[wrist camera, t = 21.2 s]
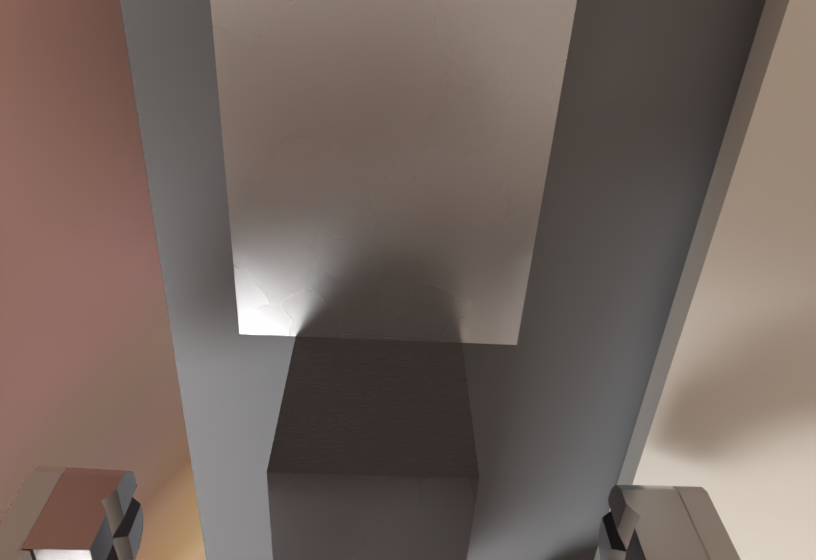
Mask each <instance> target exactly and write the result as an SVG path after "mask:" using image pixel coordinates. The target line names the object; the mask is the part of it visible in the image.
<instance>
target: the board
mask: <svg viewBox="0 0 816 560" xmlns="http://www.w3.org/2000/svg"><path fill="white" fill-rule="evenodd" d="M765 2H766V0H577V3H576V9H575V14H574V20H573V26H572V32H571V37H570V43H569V49H568V54H567V60H566V66H565V72H564V77H563V83H562V89H561V94H560V100H559V106H558V112H557V117H556V123H555V129H554V134H553V140H552V146H551V152H550V157H549V163H548V169H547V175H546V180H545V186H544V192H543V197H542V203H541V209H540V215H539V220H538V226H537V232H536V237H535V243H534V249H533V255H532V260H531V266H530V272H529V277H528V283H527V289H526V295H525V300H524V306H523V312H522V317H521V323H520V329H519V335H518V340H517V345H506V344H480V343H462V347H463V355H464V362H465V370H466V378H467V386H468V393H469V401H470V409H471V416H472V424H473V432H474V440H475V447H476V455H477V463H478V471H479V478H480V480H479V486H478V492H477V498H476V505H475V511H474V517H473V523H472V530H471V536H470V542H469V548H468V555H467V560H594V558H595V554H596V551H597V548H598V543H599V528H600V524H601V520H602V517H603V516H605V515H606V514H607V513H608V512H609V509H610V506H609V503H608V497H609V494H610V490H611V489H612V488H613V486H614V485H617V483H618V480H619V476H620V473H621V470H622V467H623V463H624V460H625V457H626V454H627V450H628V447H629V444H630V441H631V437H632V434H633V431H634V428H635V424H636V421H637V418H638V415H639V411H640V408H641V405H642V402H643V398H644V395H645V392H646V389H647V385H648V382H649V379H650V376H651V372H652V369H653V366H654V363H655V359H656V356H657V353H658V350H659V346H660V343H661V340H662V337H663V333H664V330H665V327H666V324H667V320H668V317H669V314H670V311H671V307H672V304H673V301H674V298H675V294H676V291H677V288H678V284H679V281H680V278H681V275H682V271H683V268H684V265H685V262H686V258H687V255H688V252H689V249H690V245H691V242H692V239H693V236H694V232H695V229H696V226H697V223H698V219H699V216H700V213H701V210H702V206H703V203H704V200H705V197H706V193H707V190H708V187H709V184H710V180H711V177H712V174H713V171H714V167H715V164H716V161H717V158H718V154H719V151H720V148H721V145H722V141H723V138H724V135H725V132H726V128H727V125H728V122H729V119H730V115H731V112H732V109H733V106H734V102H735V99H736V96H737V93H738V89H739V86H740V83H741V80H742V76H743V73H744V70H745V67H746V63H747V60H748V57H749V54H750V50H751V47H752V44H753V41H754V37H755V34H756V31H757V28H758V24H759V21H760V18H761V15H762V11H763V8H764V5H765ZM120 5H121V12H122V18H123V25H124V31H125V37H126V44H127V50H128V57H129V63H130V70H131V76H132V83H133V89H134V96H135V102H136V108H137V115H138V121H139V128H140V134H141V141H142V147H143V154H144V160H145V167H146V173H147V179H148V186H149V192H150V199H151V205H152V212H153V218H154V225H155V231H156V238H157V244H158V250H159V257H160V263H161V270H162V276H163V283H164V289H165V296H166V302H167V309H168V315H169V321H170V328H171V334H172V341H173V347H174V354H175V360H176V367H177V373H178V380H179V386H180V392H181V399H182V405H183V412H184V418H185V425H186V431H187V438H188V444H189V451H190V457H191V463H192V470H193V476H194V483H195V489H196V496H197V502H198V509H199V515H200V522H201V528H202V534H203V541H204V547H205V554H206V560H273V555H272V541H271V527H270V513H269V499H268V485H267V468H268V463H269V459H270V454H271V449H272V445H273V440H274V435H275V431H276V426H277V421H278V417H279V412H280V407H281V403H282V398H283V393H284V388H285V384H286V379H287V374H288V370H289V365H290V360H291V356H292V351H293V346H294V342H295V337H296V336H276V335H250V334H239V323H238V312H237V300H236V289H235V277H234V266H233V255H232V243H231V232H230V220H229V209H228V198H227V186H226V175H225V163H224V152H223V141H222V129H221V118H220V106H219V95H218V84H217V72H216V61H215V49H214V38H213V26H212V15H211V4H210V0H120Z"/></svg>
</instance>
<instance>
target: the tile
mask: <svg viewBox="0 0 816 560" xmlns="http://www.w3.org/2000/svg"><path fill="white" fill-rule="evenodd" d="M617 485H658V486H671V487H672V486H688V487H703V488H704V489H705V490H706V491H707V492H708V494H709V496H710V498H711V500H712V502H713V504H714V506H715V508H716V510H717V512H718V514H719V516H720V518H721V520H722V522H723V524H724V526H725V528H726V530H727V532H728V534H729V536H730V538H731V541H732V543H733V545H734V547H735V549H736V551H737V553H738V555H739V557H740V559H741V560H816V0H766V2H765V5H764V8H763V11H762V15H761V18H760V21H759V24H758V28H757V31H756V34H755V37H754V41H753V44H752V47H751V50H750V54H749V57H748V60H747V63H746V67H745V70H744V73H743V76H742V80H741V83H740V86H739V89H738V93H737V96H736V99H735V102H734V106H733V109H732V112H731V115H730V119H729V122H728V125H727V128H726V132H725V135H724V138H723V141H722V145H721V148H720V151H719V154H718V158H717V161H716V164H715V167H714V171H713V174H712V177H711V180H710V184H709V187H708V190H707V193H706V197H705V200H704V203H703V206H702V210H701V213H700V216H699V219H698V223H697V226H696V229H695V232H694V236H693V239H692V242H691V245H690V249H689V252H688V255H687V258H686V262H685V265H684V268H683V271H682V275H681V278H680V281H679V284H678V288H677V291H676V294H675V298H674V301H673V304H672V307H671V311H670V314H669V317H668V320H667V324H666V327H665V330H664V333H663V337H662V340H661V343H660V346H659V350H658V353H657V356H656V359H655V363H654V366H653V369H652V372H651V376H650V379H649V382H648V385H647V389H646V392H645V395H644V398H643V402H642V405H641V408H640V411H639V415H638V418H637V421H636V424H635V428H634V431H633V434H632V437H631V441H630V444H629V447H628V450H627V454H626V457H625V460H624V463H623V467H622V470H621V473H620V476H619V480H618V483H617ZM610 511H611V509H609V512H610ZM609 512H608V513H609ZM594 560H600V554H599V547H598V548H597V551H596V554H595V558H594Z"/></svg>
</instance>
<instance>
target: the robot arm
mask: <svg viewBox="0 0 816 560" xmlns="http://www.w3.org/2000/svg"><path fill="white" fill-rule="evenodd" d="M136 487H137V485H136V481H135V477H134V473H133V472H131V471H122V470H104V469H86V468H61V467H41V466H39V467H38V468H36V469H35V470H34V471H33V472H31V473H30V474H29V476H28V478H27V479H26V481H25V483H24V484H23V486H22V488H21V489H20V491H19V493H18V494H17V496H16V498H15V499H14V501H13V503H12V504H11V506H10V508H9V509H8V511H7V513H6V514H5V516H4V518H3V519H2V521H1V522H0V560H135V558H136V555H137V552H138V549H139V547H140V542H141V536H142V531H143V513H142V508H141V504H140V503H139V502H138V501H136V500H135V499H134V498H133V494H134V492H135V489H136ZM608 503H609V506H610V509H611V511H610V512H609V513H607V514H606V515H605V516H603V517H602V520H601V524H600V528H599V543H598V547H599V554H600V560H741V559H740V557H739V555H738V553H737V551H736V549H735V547H734V545H733V543H732V541H731V538H730V536H729V534H728V532H727V530H726V528H725V526H724V524H723V522H722V520H721V518H720V516H719V514H718V512H717V510H716V508H715V506H714V504H713V502H712V500H711V498H710V496H709V494H708V492H707V491H706V490H705V489H704V488H703V487H688V486H672V487H671V486H658V485H614V486H613V488H612V489H611V490H610V494H609V497H608Z"/></svg>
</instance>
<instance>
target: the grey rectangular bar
mask: <svg viewBox="0 0 816 560" xmlns="http://www.w3.org/2000/svg"><path fill="white" fill-rule="evenodd" d="M576 3H577V0H210V4H211V15H212V26H213V38H214V49H215V61H216V72H217V84H218V95H219V106H220V118H221V129H222V141H223V152H224V163H225V175H226V186H227V198H228V209H229V220H230V232H231V243H232V255H233V266H234V277H235V289H236V300H237V312H238V323H239V334H250V335H276V336H296V337H295V342H294V346H293V351H292V356H291V360H290V365H289V370H288V374H287V379H286V384H285V388H284V393H283V398H282V403H281V407H280V412H279V417H278V421H277V426H276V431H275V435H274V440H273V445H272V449H271V454H270V459H269V463H268V468H267V485H268V499H269V513H270V527H271V541H272V555H273V560H467V555H468V548H469V542H470V536H471V530H472V523H473V517H474V511H475V505H476V498H477V492H478V486H479V480H480V478H479V471H478V463H477V455H476V447H475V440H474V432H473V424H472V416H471V409H470V401H469V393H468V386H467V378H466V370H465V362H464V355H463V347H462V343H480V344H506V345H517V340H518V335H519V329H520V323H521V317H522V312H523V306H524V300H525V295H526V289H527V283H528V277H529V272H530V266H531V260H532V255H533V249H534V243H535V237H536V232H537V226H538V220H539V215H540V209H541V203H542V197H543V192H544V186H545V180H546V175H547V169H548V163H549V157H550V152H551V146H552V140H553V134H554V129H555V123H556V117H557V112H558V106H559V100H560V94H561V89H562V83H563V77H564V72H565V66H566V60H567V54H568V49H569V43H570V37H571V32H572V26H573V20H574V14H575V9H576Z"/></svg>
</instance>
